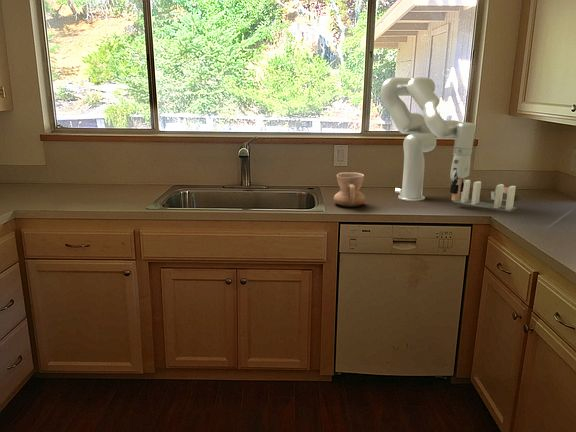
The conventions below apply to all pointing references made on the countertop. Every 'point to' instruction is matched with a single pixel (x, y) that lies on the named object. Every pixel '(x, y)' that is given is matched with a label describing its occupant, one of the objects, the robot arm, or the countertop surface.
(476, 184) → the domino
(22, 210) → the countertop surface
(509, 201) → the domino
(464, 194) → the domino
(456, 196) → the domino
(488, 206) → the mat
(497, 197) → the domino
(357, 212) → the countertop surface
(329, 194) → the countertop surface
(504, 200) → the packaged product
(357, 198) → the ceramic jug
